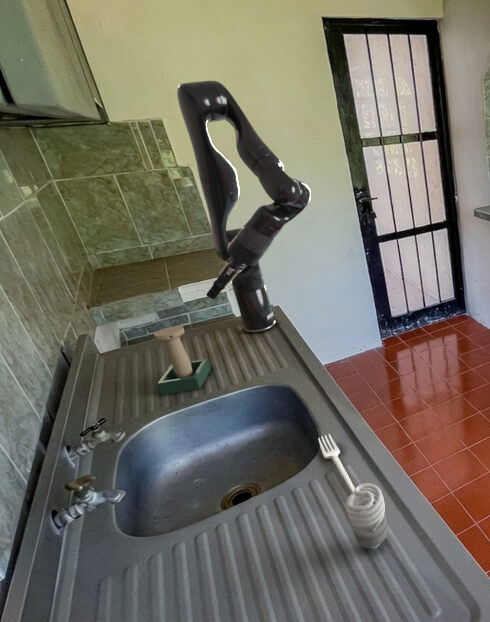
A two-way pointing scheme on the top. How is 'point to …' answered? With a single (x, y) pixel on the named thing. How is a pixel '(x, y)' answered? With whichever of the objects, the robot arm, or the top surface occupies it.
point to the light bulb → (368, 515)
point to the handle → (176, 350)
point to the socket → (176, 384)
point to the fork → (335, 459)
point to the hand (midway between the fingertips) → (215, 290)
